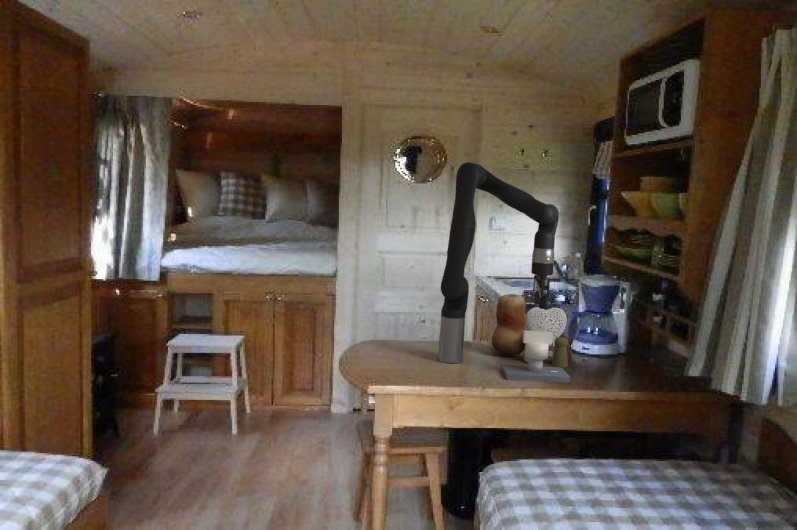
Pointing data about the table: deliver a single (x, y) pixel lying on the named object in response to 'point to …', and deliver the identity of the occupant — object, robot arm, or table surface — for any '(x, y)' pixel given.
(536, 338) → the coupling
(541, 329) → the decorative heart
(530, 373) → the baseplate
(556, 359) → the cork
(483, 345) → the table surface
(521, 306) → the butternut squash
